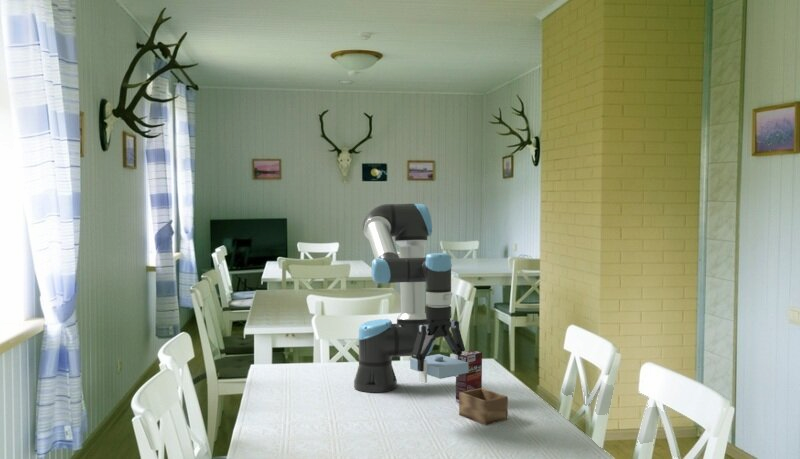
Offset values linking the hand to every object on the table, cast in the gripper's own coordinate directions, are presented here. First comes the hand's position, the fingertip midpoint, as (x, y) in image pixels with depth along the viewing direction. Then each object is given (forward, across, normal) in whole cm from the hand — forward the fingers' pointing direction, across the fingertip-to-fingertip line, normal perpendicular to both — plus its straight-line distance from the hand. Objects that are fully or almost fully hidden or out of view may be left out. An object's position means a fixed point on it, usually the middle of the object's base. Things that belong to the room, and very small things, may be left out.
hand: (438, 378), depth 214 cm
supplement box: (+13, +22, +12) cm, 29 cm away
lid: (-1, 0, 0) cm, 1 cm away
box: (+13, +14, -4) cm, 20 cm away
